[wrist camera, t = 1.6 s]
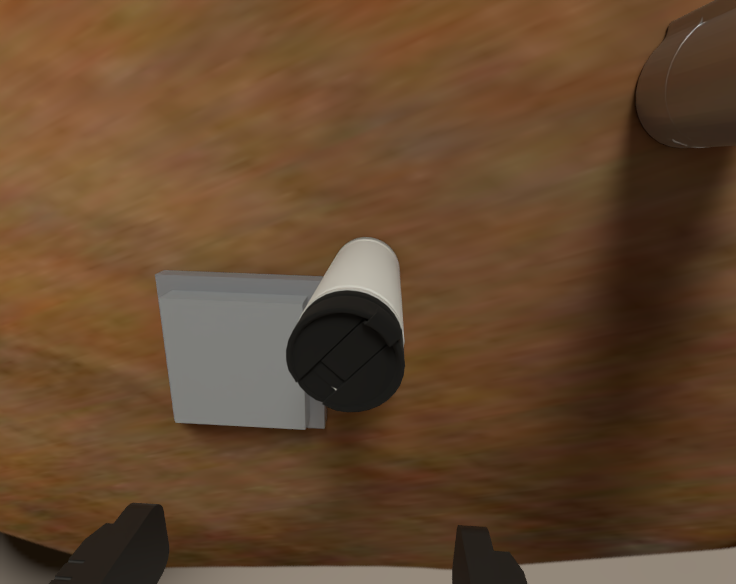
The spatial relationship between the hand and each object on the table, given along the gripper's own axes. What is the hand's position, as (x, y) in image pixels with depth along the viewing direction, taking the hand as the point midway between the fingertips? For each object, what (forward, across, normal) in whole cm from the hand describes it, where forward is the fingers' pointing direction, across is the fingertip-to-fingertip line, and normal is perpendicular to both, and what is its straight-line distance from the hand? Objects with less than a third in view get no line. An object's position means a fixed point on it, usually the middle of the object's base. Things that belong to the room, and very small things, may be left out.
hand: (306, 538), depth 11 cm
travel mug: (+30, 0, 0) cm, 30 cm away
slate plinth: (+30, +12, +9) cm, 33 cm away
